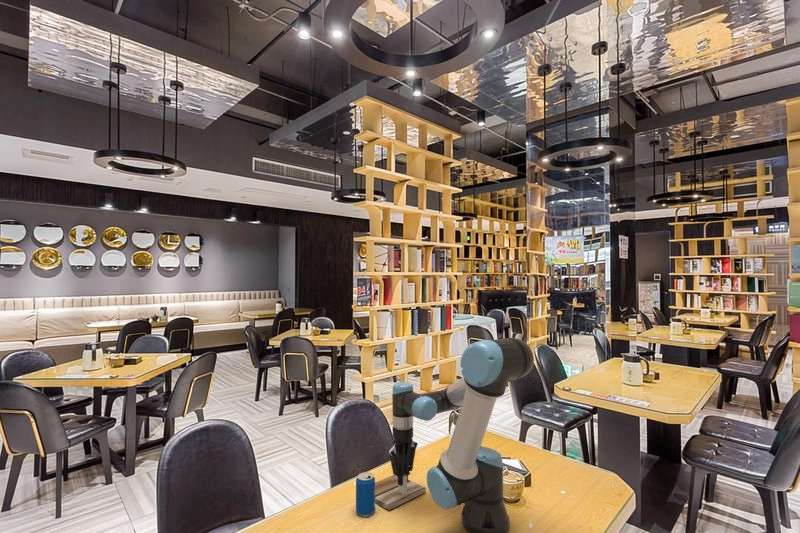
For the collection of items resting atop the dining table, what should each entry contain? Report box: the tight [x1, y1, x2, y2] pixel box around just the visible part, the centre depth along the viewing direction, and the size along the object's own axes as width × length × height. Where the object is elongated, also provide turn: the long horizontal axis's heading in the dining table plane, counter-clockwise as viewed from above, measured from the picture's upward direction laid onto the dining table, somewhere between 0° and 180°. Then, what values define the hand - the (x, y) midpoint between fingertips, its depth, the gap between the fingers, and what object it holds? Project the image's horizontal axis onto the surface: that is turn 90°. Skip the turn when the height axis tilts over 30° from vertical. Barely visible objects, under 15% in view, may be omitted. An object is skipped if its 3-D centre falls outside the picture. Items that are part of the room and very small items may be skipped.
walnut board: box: [375, 474, 411, 497], centre depth 148 cm, size 8×18×2 cm, turn 132°
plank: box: [375, 480, 427, 511], centre depth 142 cm, size 8×18×2 cm, turn 132°
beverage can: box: [355, 471, 376, 518], centre depth 133 cm, size 6×6×12 cm
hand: (403, 493), depth 141 cm, fingers closed
